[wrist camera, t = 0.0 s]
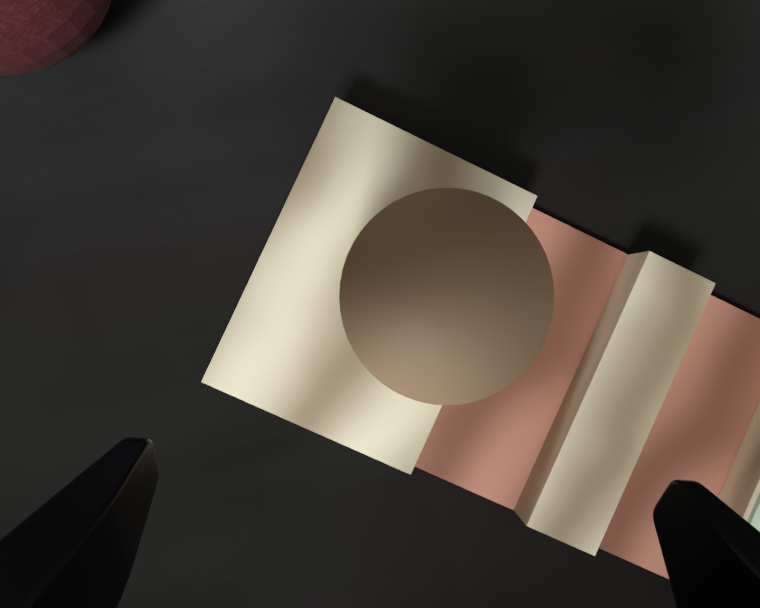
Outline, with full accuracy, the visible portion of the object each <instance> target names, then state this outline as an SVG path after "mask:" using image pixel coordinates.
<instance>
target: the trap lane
mask: <svg viewBox="0 0 760 608" xmlns="http://www.w3.org/2000/svg"><path fill="white" fill-rule="evenodd" d="M433 188H461V189H466V190H471V191H475V192H478V193H481V194H484V195H487V196H489V197H491V198H493V199H495V200H497V201H499V202H501V203H503V204H504V205H506V206H507V207H509V208H510V209H511V210H513V211H514V212H515V213H516V214H517V215H518V216H520V217H521V218H522V219H523V220H524V221H525V222H526V224H527V225H528V226H529V227H530V228H531V229H532V231H533V232H534V234H535V235H536V237H537V238H538V240H539V241H540V243H541V245H542V247H543V249H544V251H545V253H546V256H547V258H548V261H549V264H550V267H551V272H552V277H553V282H554V311H553V316H552V322H551V326H550V329H549V332H548V335H547V338H546V340H545V342H544V344H543V346H542V348H541V350H540V352H539V353H538V355H537V356H536V358H535V360H534V361H533V362H532V364H531V365H530V366H529V367H528V368H527V370H526V371H525V372H524V373H523V374H522V375H521V376H520V377H519V378H518V379H516V380H515V381H514V382H513V383H511V384H510V385H509V386H507V387H506V388H504V389H503V390H501V391H499V392H497V393H495V394H494V395H492V396H490V397H487V398H484V399H481V400H479V401H475V402H471V403H467V404H460V405H433V404H428V403H422V402H419V401H416V400H412V399H409V398H407V397H405V396H402V395H400V394H398V393H396V392H394V391H393V390H391V389H390V388H388V387H387V386H385V385H383V384H382V383H381V382H380V381H379V380H377V379H376V378H375V377H374V376H373V375H372V374H371V373H370V372H369V371H368V370H367V369H366V368H365V366H364V365H363V364H362V363H361V361H360V360H359V358H358V357H357V355H356V354H355V352H354V350H353V349H352V347H351V345H350V343H349V341H348V338H347V335H346V333H345V330H344V327H343V323H342V318H341V313H340V302H339V292H340V280H341V275H342V270H343V266H344V263H345V260H346V257H347V255H348V252H349V250H350V248H351V246H352V244H353V242H354V241H355V239H356V238H357V236H358V235H359V233H360V232H361V230H362V229H363V228H364V227H365V225H366V224H367V223H368V222H369V221H370V220H371V219H372V218H373V217H374V216H375V215H376V214H377V213H379V212H380V211H381V210H382V209H384V208H385V207H387V206H388V205H389V204H391V203H392V202H394V201H396V200H398V199H400V198H402V197H404V196H407V195H409V194H412V193H415V192H418V191H423V190H428V189H433ZM536 198H537V196H536V195H534V194H532V193H530V192H528V191H526V190H524V189H522V188H520V187H518V186H516V185H514V184H512V183H510V182H508V181H506V180H504V179H502V178H500V177H498V176H496V175H493V174H491V173H489V172H487V171H485V170H483V169H481V168H479V167H477V166H475V165H473V164H471V163H469V162H467V161H465V160H463V159H461V158H459V157H457V156H455V155H453V154H451V153H449V152H447V151H444V150H442V149H440V148H438V147H436V146H434V145H432V144H430V143H428V142H426V141H424V140H422V139H420V138H418V137H416V136H414V135H412V134H410V133H408V132H406V131H404V130H402V129H400V128H398V127H396V126H393V125H391V124H389V123H387V122H385V121H383V120H381V119H379V118H377V117H375V116H373V115H371V114H369V113H367V112H365V111H363V110H361V109H359V108H357V107H355V106H353V105H351V104H349V103H347V102H345V101H342V100H340V99H338V98H336V97H335V99H334V101H333V103H332V105H331V107H330V109H329V111H328V114H327V116H326V118H325V120H324V122H323V124H322V126H321V128H320V131H319V133H318V135H317V137H316V139H315V141H314V143H313V145H312V148H311V150H310V152H309V154H308V156H307V158H306V160H305V162H304V165H303V167H302V169H301V171H300V173H299V175H298V177H297V179H296V182H295V184H294V186H293V188H292V190H291V192H290V194H289V196H288V199H287V201H286V203H285V205H284V207H283V209H282V211H281V213H280V216H279V218H278V220H277V222H276V224H275V226H274V228H273V230H272V233H271V235H270V237H269V239H268V241H267V243H266V245H265V247H264V250H263V252H262V254H261V256H260V258H259V260H258V262H257V264H256V267H255V269H254V271H253V273H252V275H251V277H250V279H249V282H248V284H247V286H246V288H245V290H244V292H243V294H242V296H241V299H240V301H239V303H238V305H237V307H236V309H235V311H234V313H233V316H232V318H231V320H230V322H229V324H228V326H227V328H226V330H225V333H224V335H223V337H222V339H221V341H220V343H219V345H218V347H217V350H216V352H215V354H214V356H213V358H212V360H211V362H210V364H209V367H208V369H207V371H206V373H205V375H204V377H203V379H202V381H201V382H202V383H205V384H207V385H209V386H211V387H214V388H216V389H218V390H220V391H223V392H225V393H227V394H229V395H232V396H234V397H236V398H238V399H241V400H243V401H245V402H247V403H250V404H252V405H254V406H257V407H259V408H261V409H263V410H266V411H268V412H270V413H272V414H275V415H277V416H279V417H281V418H284V419H286V420H288V421H290V422H293V423H295V424H297V425H299V426H302V427H304V428H306V429H309V430H311V431H313V432H315V433H318V434H320V435H322V436H324V437H327V438H329V439H331V440H333V441H336V442H338V443H340V444H342V445H345V446H347V447H349V448H351V449H354V450H356V451H358V452H361V453H363V454H365V455H367V456H370V457H372V458H374V459H376V460H379V461H381V462H383V463H385V464H388V465H390V466H392V467H394V468H397V469H399V470H401V471H403V472H406V473H408V474H410V475H411V473H412V471H413V468H414V466H415V467H417V468H419V469H422V470H424V471H426V472H429V473H431V474H433V475H435V476H438V477H440V478H442V479H444V480H447V481H449V482H451V483H453V484H456V485H458V486H460V487H462V488H465V489H467V490H469V491H471V492H474V493H476V494H478V495H480V496H483V497H485V498H487V499H489V500H492V501H494V502H496V503H498V504H501V505H503V506H505V507H507V508H510V509H512V510H514V511H515V513H516V514H517V515H518V516H519V517H520V519H521V520H522V521H523V522H524V523H525V525H526V526H528V527H530V528H532V529H535V530H537V531H539V532H541V533H544V534H546V535H548V536H550V537H553V538H555V539H557V540H559V541H562V542H564V543H566V544H569V545H571V546H573V547H575V548H578V549H580V550H582V551H584V552H587V553H589V554H591V555H593V556H595V555H596V553H597V550H598V548H600V549H602V550H604V551H607V552H609V553H611V554H613V555H616V556H618V557H620V558H622V559H625V560H627V561H629V562H631V563H634V564H636V565H638V566H640V567H643V568H645V569H647V570H649V571H652V572H654V573H656V574H658V575H661V576H663V577H665V578H667V579H669V577H668V573H667V569H666V566H665V562H664V558H663V555H662V551H661V547H660V544H659V540H658V536H657V533H656V529H655V525H654V521H653V510H654V507H655V505H656V503H657V502H658V500H659V499H660V497H661V495H662V494H663V492H664V491H665V489H666V488H667V486H668V484H669V483H670V482H671V481H673V480H676V479H679V480H692V481H696V482H699V483H701V484H702V485H703V486H705V487H706V488H707V489H708V490H709V491H711V492H712V493H713V494H714V495H716V496H717V497H718V498H719V499H720V500H722V501H723V502H724V503H725V504H727V505H728V506H729V507H730V508H731V509H733V510H734V511H735V512H736V513H738V514H739V515H740V516H741V517H742V518H744V519H745V520H746V521H747V522H749V523H750V524H751V525H752V526H753V527H755V528H756V529H757V530H758V531H759V532H760V319H759V318H757V317H755V316H753V315H751V314H749V313H747V312H745V311H743V310H741V309H739V308H737V307H735V306H733V305H730V304H728V303H726V302H724V301H722V300H720V299H718V298H716V297H714V296H712V295H711V293H712V290H713V288H714V286H715V283H714V282H712V281H710V280H708V279H706V278H704V277H702V276H700V275H697V274H695V273H693V272H691V271H689V270H687V269H685V268H683V267H681V266H679V265H677V264H675V263H673V262H671V261H669V260H667V259H665V258H663V257H661V256H659V255H657V254H655V253H653V252H651V251H646V252H641V253H635V254H629V255H628V254H626V253H624V252H622V251H620V250H618V249H616V248H614V247H612V246H610V245H608V244H605V243H603V242H601V241H599V240H597V239H595V238H593V237H591V236H589V235H587V234H585V233H583V232H581V231H579V230H577V229H575V228H573V227H571V226H569V225H567V224H565V223H562V222H560V221H558V220H556V219H554V218H552V217H550V216H548V215H546V214H544V213H542V212H540V211H538V210H536V209H534V208H532V207H533V205H534V203H535V201H536Z"/></svg>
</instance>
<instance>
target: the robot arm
mask: <svg viewBox="0 0 760 608" xmlns="http://www.w3.org/2000/svg"><path fill="white" fill-rule="evenodd" d="M157 479H158V469H157V463H156V457H155V450H154V445H153V442H152V441H151V440H150V439H145V438H132V437H129V438H125V439H123V440H122V441H120V442H119V443H118V444H117V445H115V446H114V447H113V448H112V449H111V450H109V451H108V452H107V453H106V454H104V455H103V456H102V457H101V458H100V459H98V460H97V461H96V462H95V463H93V464H92V465H91V466H90V467H89V468H87V469H86V470H85V471H84V472H82V473H81V474H80V475H79V476H78V477H76V478H75V479H74V480H73V481H72V482H70V483H69V484H68V485H67V486H65V487H64V488H63V489H62V490H61V491H59V492H58V493H57V494H56V495H54V496H53V497H52V498H51V499H50V500H48V501H47V502H46V503H45V504H44V505H42V506H41V507H40V508H39V509H37V510H36V511H35V512H34V513H33V514H31V515H30V516H29V517H28V518H26V519H25V520H24V521H23V522H22V523H20V524H19V525H18V526H17V527H15V528H14V529H13V530H12V531H11V532H9V533H8V534H7V535H6V536H5V537H3V538H2V539H1V540H0V608H117V606H118V604H119V601H120V599H121V596H122V594H123V592H124V589H125V586H126V584H127V581H128V579H129V576H130V573H131V569H132V566H133V563H134V560H135V556H136V553H137V550H138V546H139V543H140V539H141V536H142V533H143V529H144V526H145V522H146V519H147V516H148V512H149V509H150V506H151V502H152V499H153V495H154V492H155V489H156V485H157ZM653 521H654V525H655V529H656V533H657V536H658V540H659V544H660V547H661V551H662V555H663V558H664V562H665V566H666V569H667V573H668V577H669V581H670V584H671V588H672V592H673V595H674V598H675V602H676V605H677V608H760V532H759V531H758V530H757V529H756V528H755V527H753V526H752V525H751V524H750V523H749V522H747V521H746V520H745V519H744V518H742V517H741V516H740V515H739V514H738V513H736V512H735V511H734V510H733V509H731V508H730V507H729V506H728V505H727V504H725V503H724V502H723V501H722V500H720V499H719V498H718V497H717V496H716V495H714V494H713V493H712V492H711V491H709V490H708V489H707V488H706V487H705V486H703V485H702V484H701V483H699V482H696V481H692V480H679V479H676V480H673V481H671V482H670V483H669V484H668V486H667V488H666V489H665V491H664V492H663V494H662V495H661V497H660V499H659V500H658V502H657V503H656V505H655V507H654V510H653Z"/></svg>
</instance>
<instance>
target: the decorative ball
mask: <svg viewBox="0 0 760 608" xmlns="http://www.w3.org/2000/svg"><path fill="white" fill-rule="evenodd" d="M110 3H111V0H0V76H9V75H17V74H25V73H30V72H35V71H38V70H41V69H44V68H48V67H51V66H54V65H56V64H58V63H59V62H61V61H63V60H65V59H67V58H68V57H70V56H72V55H73V54H74V53H76V52H77V51H78V50H79V49H80V48H82V47H83V46H84V45H85V44H86V43H87V42H88V41H89V40H90V39H91V37H92V36H93V35H94V34H95V32H96V31H97V30H98V29H99V27H100V26H101V24H102V22H103V20H104V18H105V16H106V14H107V12H108V10H109V7H110Z"/></svg>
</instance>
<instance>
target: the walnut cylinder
mask: <svg viewBox="0 0 760 608" xmlns="http://www.w3.org/2000/svg"><path fill="white" fill-rule="evenodd" d="M339 302H340V313H341V318H342V323H343V327H344V330H345V333H346V335H347V338H348V341H349V343H350V345H351V347H352V349H353V350H354V352H355V354H356V355H357V357H358V358H359V360H360V361H361V363H362V364H363V365H364V366H365V368H366V369H367V370H368V371H369V372H370V373H371V374H372V375H373V376H374V377H375V378H376V379H377V380H379V381H380V382H381V383H382V384H383V385H385V386H387V387H388V388H390V389H391V390H393V391H394V392H396V393H398V394H400V395H402V396H405V397H407V398H409V399H412V400H416V401H419V402H422V403H428V404H433V405H460V404H467V403H471V402H475V401H479V400H481V399H484V398H487V397H490V396H492V395H494V394H495V393H497V392H499V391H501V390H503V389H504V388H506V387H507V386H509V385H510V384H511V383H513V382H514V381H515V380H516V379H518V378H519V377H520V376H521V375H522V374H523V373H524V372H525V371H526V370H527V368H528V367H529V366H530V365H531V364H532V362H533V361H534V360H535V358H536V356H537V355H538V353H539V352H540V350H541V348H542V346H543V344H544V342H545V340H546V338H547V335H548V332H549V329H550V326H551V322H552V316H553V311H554V282H553V277H552V272H551V267H550V264H549V261H548V258H547V256H546V253H545V251H544V249H543V247H542V245H541V243H540V241H539V240H538V238H537V237H536V235H535V234H534V232H533V231H532V229H531V228H530V227H529V226H528V225H527V224H526V222H525V221H524V220H523V219H522V218H521V217H520V216H518V215H517V214H516V213H515V212H514V211H513V210H511V209H510V208H509V207H507V206H506V205H504V204H503V203H501V202H499V201H497V200H495V199H493V198H491V197H489V196H487V195H484V194H481V193H478V192H475V191H471V190H466V189H461V188H433V189H428V190H423V191H418V192H415V193H412V194H409V195H407V196H404V197H402V198H400V199H398V200H396V201H394V202H392V203H391V204H389V205H388V206H387V207H385V208H384V209H382V210H381V211H380V212H379V213H377V214H376V215H375V216H374V217H373V218H372V219H371V220H370V221H369V222H368V223H367V224H366V225H365V227H364V228H363V229H362V230H361V232H360V233H359V235H358V236H357V238H356V239H355V241H354V242H353V244H352V246H351V248H350V250H349V252H348V255H347V257H346V260H345V263H344V266H343V270H342V275H341V280H340V292H339Z"/></svg>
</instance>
